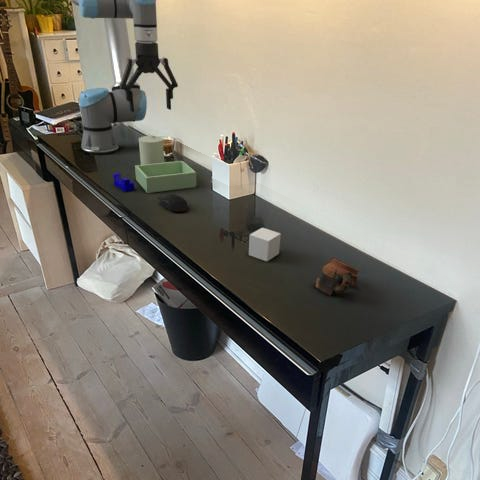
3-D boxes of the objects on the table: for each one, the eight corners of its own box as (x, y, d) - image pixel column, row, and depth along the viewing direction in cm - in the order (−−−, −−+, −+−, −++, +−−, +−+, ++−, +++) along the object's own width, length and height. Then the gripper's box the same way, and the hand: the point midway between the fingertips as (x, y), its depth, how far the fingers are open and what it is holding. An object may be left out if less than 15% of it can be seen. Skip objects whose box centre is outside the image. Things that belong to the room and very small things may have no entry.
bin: (136, 180, 177) (134, 165, 174) (183, 174, 184) (182, 160, 181) (147, 193, 167) (146, 177, 164) (196, 186, 174) (196, 172, 171)
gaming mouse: (168, 196, 165) (168, 184, 163) (191, 210, 156) (191, 198, 153) (152, 199, 162) (151, 188, 160) (174, 214, 152) (174, 202, 150)
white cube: (260, 247, 136) (262, 227, 133) (279, 253, 133) (280, 233, 130) (248, 254, 132) (249, 234, 128) (266, 261, 129) (268, 240, 126)
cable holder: (134, 189, 169) (133, 178, 167) (125, 191, 167) (124, 180, 165) (123, 183, 174) (122, 172, 172) (114, 185, 172) (113, 174, 170)
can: (167, 166, 191) (165, 135, 184) (162, 174, 184) (160, 141, 177) (144, 165, 192) (141, 133, 185) (138, 172, 184) (135, 139, 177)
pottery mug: (307, 282, 122) (322, 252, 120) (338, 295, 125) (353, 266, 123) (325, 295, 111) (342, 263, 109) (358, 310, 114) (375, 278, 112)
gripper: (111, 43, 154) (118, 114, 166) (185, 42, 163) (187, 110, 176) (106, 40, 160) (113, 109, 172) (178, 40, 169) (180, 105, 181)
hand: (150, 110), depth 174 cm, fingers open, 13 cm apart
